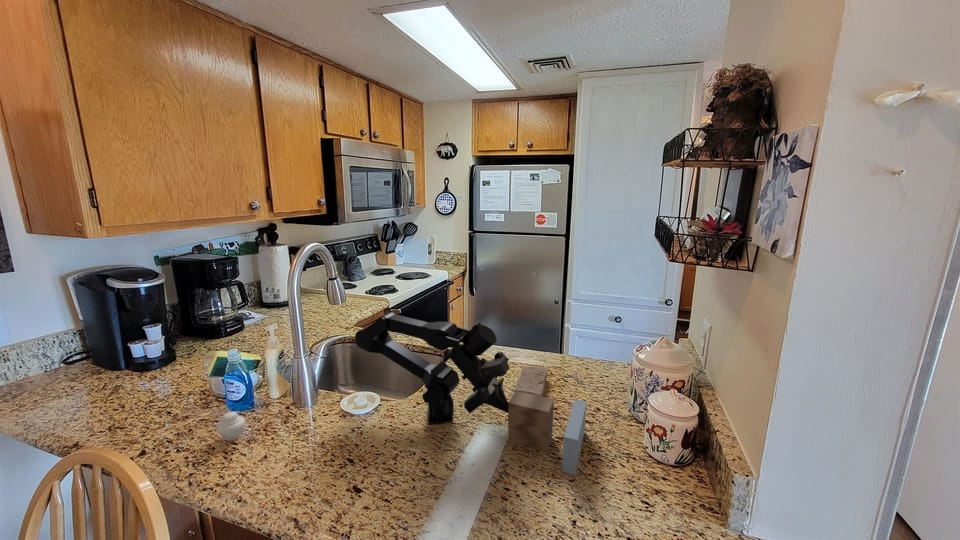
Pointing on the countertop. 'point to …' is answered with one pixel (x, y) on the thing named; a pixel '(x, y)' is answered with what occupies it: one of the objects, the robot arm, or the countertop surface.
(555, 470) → the countertop surface
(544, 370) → the brick
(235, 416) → the grey rounded lump
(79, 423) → the countertop surface
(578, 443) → the slate board
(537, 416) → the walnut box
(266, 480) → the countertop surface
